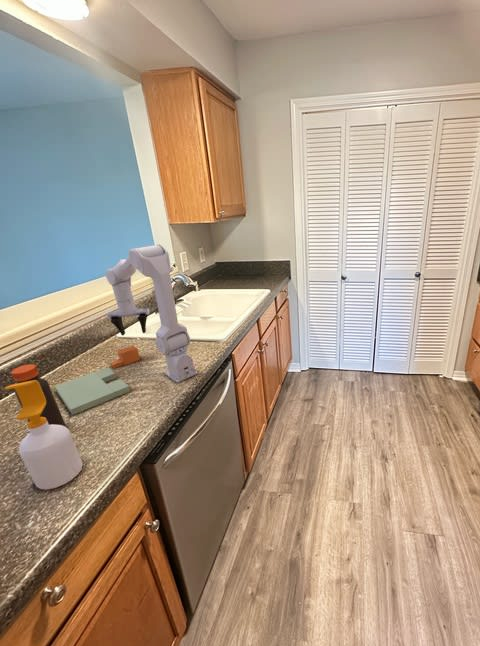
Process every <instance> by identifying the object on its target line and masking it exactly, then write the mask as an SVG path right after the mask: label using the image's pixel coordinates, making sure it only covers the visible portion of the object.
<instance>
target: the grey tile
mask: <svg viewBox="0 0 480 646" xmlns="http://www.w3.org/2000/svg"><path fill="white" fill-rule="evenodd" d="M115 379H116V380H115ZM113 380H114V381H113ZM110 381H112V382H110ZM108 382H109V383H108ZM54 388H55V391H56V392H57V394H58V396H59V397H60V398H61V400H62V401H63V403H64V405H65V406H66V408H67V410H68V411H69V412H70V414H71V415H72V416H74V415H77V414H79V413H81V412H84V411H86V410H88V409H92V408H94V407H95V406H98V405H101V404H103V403H105V402H108V401H110V400H113V399H115V398H117V397H120V396H122V395H124V394H127V393H130V392H131V389H130V386H129V384H127V383H126V382H125V381H124V380H123V379H122V378H120V379H117V375H116V373H115V371H113V370H112V369H111V368H110V367H104V368H101V369H99V370H95V371H93V372H90V373H87V374H85V375H82V376H79V377H76V378H73V379H71V380H67V381H65V382H62V383H60V384H56V385H54Z"/></svg>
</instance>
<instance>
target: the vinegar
mask: <svg viewBox="0 0 480 646" xmlns="http://www.w3.org/2000/svg"><path fill="white" fill-rule="evenodd" d="M10 374H11V376H12V379H13V381H14V383H15V384H18V383H23V382H28V381H33V380H37V381H38V382H39V384H40V386H41V389H42V391H43V393H44V396H45V398H46V405H45V407H44V409H43V411H42V414H41V415H40V417H45V418H46V419H47V422H48V424H49V425H52V424H53V425H62V426H65V427H66V428H67V424H66V422H65V420H64V417H63V415H62V413H61V411H60V408H59V405H58V403H57V401H56V399H55V395H54V393H53V391H52V389H51V387H50V384H49V382H48V380H47V379H45V378H42V377H40V372H39V370H38V367H37V365H36V364H34V363H31V364H30V363H29V364H25V365H20V366H18V367H15V368H14V369H13V370H12V371H10ZM14 394H15V396H16V399H17V401H18V403H19V405H20V407H21V409H22V408H23V407H22V403H21V400H20V398H19V396H18V394H17V392H16V390H15V389H14ZM26 420H27V423H28V422H30V419H29V420H28V419H26Z"/></svg>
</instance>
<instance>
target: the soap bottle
mask: <svg viewBox="0 0 480 646" xmlns="http://www.w3.org/2000/svg"><path fill="white" fill-rule="evenodd" d="M11 389H14V391H15V390H16V392H17V394H18V396H19V398H20V400H21V403H22V407H23V408H22V407H21V410H20V411H19V412H18V414H17V416H16V419H17V420H18V421H22V420H27V419H28V420H29V419H30V422H28V420H27V423H26V427H27V430H28V431H29V433H27V435H25V437H24V438H23V439H22V440H21V442H20V444H19V445H18V452H19V455H20V457H21V459H22V461H23V463H24V465H25V467H26V469H27V471H28V473H29V475H30V477H31V479H32V481H33V483H34V485H35V487H36V488H38V489H40V490H52V489H56V488H58V487H61V486H64V485H65V484H67V483H69V482H71V481H73V479H74V478H75V477H77V476H78V475H79V474H80V473H81V471H82V469H83V465H84V463H83V460H82V458H81V455H80V453H79V450H78V447H77V446H76V443H75V441H74V438H73V436H72V434H71V431H70V429H69V428H68V427H67V426H66V427H65V426H62V425H53V424H52V425H49V424H48V422H47V419H46V418H45V417H40V415H41V414H42V411H43V409H44V407H45V405H46V398H45V396H44V393H43V391H42V389H41V386H40V384H39V382H38V381H37V380H33V381H28V382H23V383H14V384H13V383H12V384H10V385H8V386H5V387H4V391H8V390H11Z"/></svg>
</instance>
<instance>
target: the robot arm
mask: <svg viewBox="0 0 480 646" xmlns="http://www.w3.org/2000/svg"><path fill="white" fill-rule="evenodd" d="M170 260H171V259H170V254H169V252H168V250H167V249H166V248H165V247H164V246H163V245H162V244H160V243H159V244H155V245H149V246H142V247H132V248H130V249H129V250H128V257H126V258H120V259H119V260H118V263H117V264H115V265H114V267H112V268H106V270H105V278H106V281H107V282H108V284H109V285H111V288H112V290H113V294H114V298H115V301H116V305H117V308H118V310H115V311H108V312H107V313H106V316H107V319H110V322H111V324H113V325H114V326H115V327H116V328H117V330H118V331H119V333H120V335H121V336H125V335H126V330H125V327H124V323H123V317H132V316H133V317H134V316H138V317H137V319H138V321H139V324H140V327H141V332H142V334H145V333H147V319H148V316H149V315H150V309H149V308H150V307H149V308H148V307H147V308H137V307H136V303H135V300H134V295H133V291H132V288H131V287H132V276H133V275H135V273H136V272H137V271H138V272H140V274H142V275H143V276H144V277H146V278H150V279H151V280H152V283H153V288H154V294H155V300H156V305H157V309H158V316H159V321H160V326H159V328H158V329H157V330H156V331H155V338H156V339H155V345H156V348H157V350H158V351H159V353H160V354H162V355H164V358H165V361H166V366H167V371H165V372H164V375H165V376H167V377H169V378H170V379H171V380H173V381H174V382H175V383H180V382H182V381H184V380H187V379H189V378H191V377H194V376H196V375H198V373H199V372H198V371H197V370H195V365H194V360H193V357H192V356H191V355H189V354H188V350H187V349H189V345H190V343H191V337H190V335H189V333H188V329H187V326H185V325H184V324H182V323H179V321H178V316H177V310H176V303H175V295H174V290H173V284H172V278H171V273H170V272H172V268H171V267H172V266H171V262H170Z"/></svg>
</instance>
